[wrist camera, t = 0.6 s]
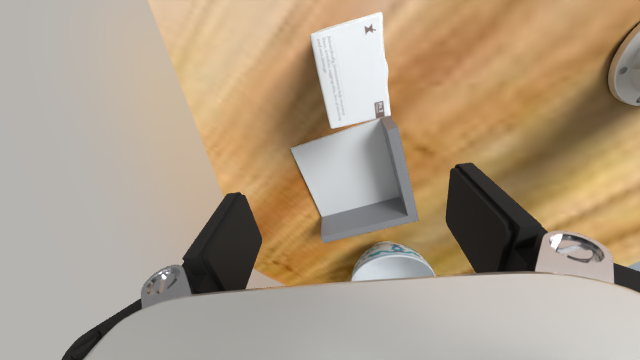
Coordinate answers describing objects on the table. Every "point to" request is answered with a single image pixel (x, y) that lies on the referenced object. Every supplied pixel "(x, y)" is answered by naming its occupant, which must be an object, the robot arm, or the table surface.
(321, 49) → the skincare box
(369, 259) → the chinaware
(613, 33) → the table surface
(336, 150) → the corner jig
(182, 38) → the table surface
